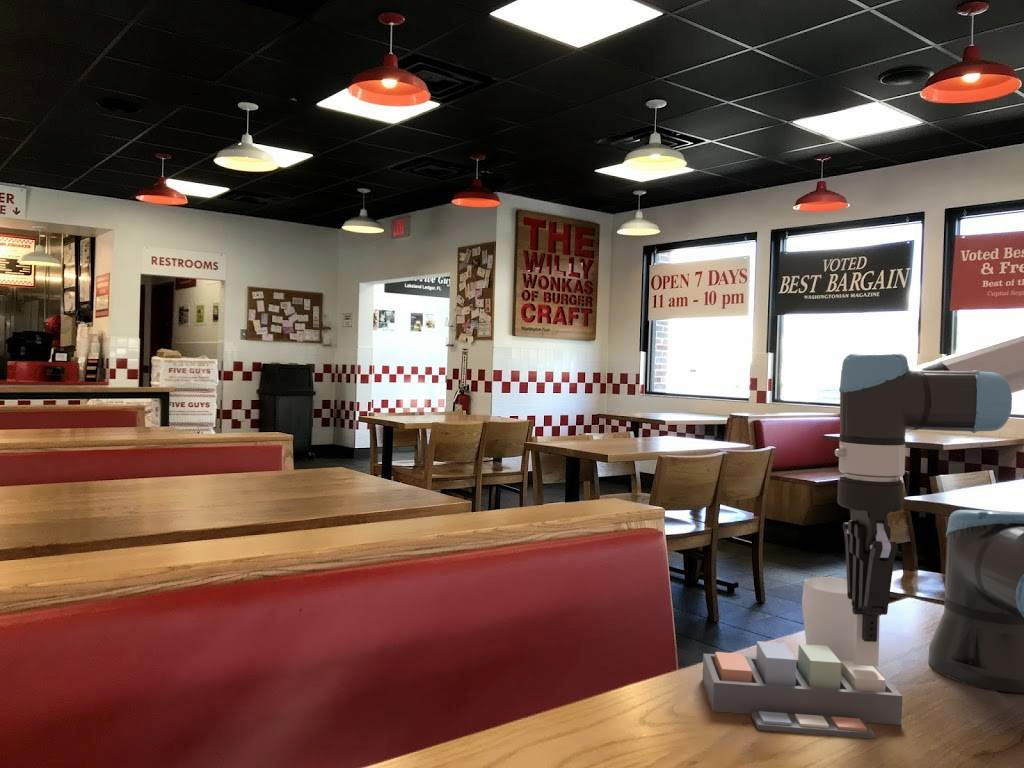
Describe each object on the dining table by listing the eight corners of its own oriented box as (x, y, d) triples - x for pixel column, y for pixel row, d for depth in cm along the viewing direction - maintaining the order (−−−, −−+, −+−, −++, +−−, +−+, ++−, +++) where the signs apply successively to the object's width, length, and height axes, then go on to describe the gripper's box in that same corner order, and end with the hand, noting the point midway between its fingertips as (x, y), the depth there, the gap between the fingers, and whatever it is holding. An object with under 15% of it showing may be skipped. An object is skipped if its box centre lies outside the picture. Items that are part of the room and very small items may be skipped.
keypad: (872, 691, 105) (873, 664, 105) (901, 725, 95) (902, 696, 95) (702, 679, 107) (703, 653, 107) (712, 711, 98) (714, 682, 97)
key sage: (826, 672, 104) (827, 645, 104) (840, 691, 98) (841, 662, 98) (797, 670, 104) (798, 643, 104) (809, 688, 98) (810, 660, 98)
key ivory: (868, 689, 103) (869, 662, 103) (884, 708, 97) (885, 680, 97) (839, 686, 104) (840, 660, 103) (853, 706, 98) (855, 678, 98)
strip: (863, 724, 95) (864, 717, 95) (874, 738, 91) (874, 730, 91) (751, 716, 96) (752, 708, 96) (757, 729, 93) (757, 722, 93)
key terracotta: (742, 680, 105) (743, 653, 105) (750, 698, 99) (751, 671, 99) (714, 678, 105) (715, 651, 105) (721, 696, 99) (722, 669, 99)
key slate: (784, 669, 104) (785, 643, 104) (795, 687, 98) (796, 659, 98) (756, 667, 105) (757, 641, 105) (765, 685, 99) (766, 657, 99)
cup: (875, 685, 107) (879, 596, 107) (804, 678, 109) (808, 591, 109) (860, 661, 116) (863, 579, 116) (795, 655, 118) (798, 574, 117)
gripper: (824, 469, 107) (819, 644, 107) (855, 483, 94) (850, 682, 94) (883, 470, 106) (878, 647, 106) (922, 485, 93) (916, 686, 93)
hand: (864, 663), depth 100 cm, fingers closed
